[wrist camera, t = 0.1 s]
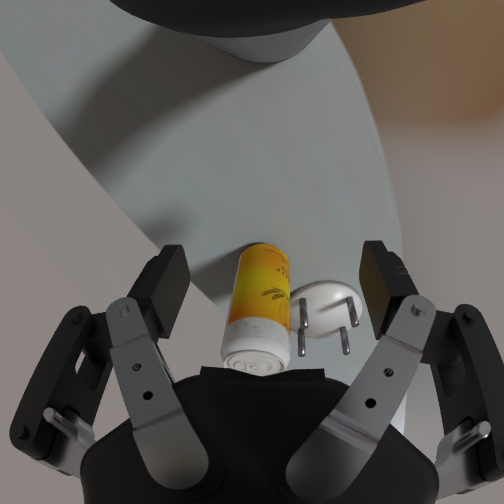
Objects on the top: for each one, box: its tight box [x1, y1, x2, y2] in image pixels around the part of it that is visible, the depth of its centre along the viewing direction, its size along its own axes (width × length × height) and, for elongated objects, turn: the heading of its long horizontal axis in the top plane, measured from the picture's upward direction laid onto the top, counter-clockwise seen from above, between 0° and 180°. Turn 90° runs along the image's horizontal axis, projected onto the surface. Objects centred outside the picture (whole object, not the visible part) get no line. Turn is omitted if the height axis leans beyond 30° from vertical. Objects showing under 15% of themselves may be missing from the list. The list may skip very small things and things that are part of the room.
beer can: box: [221, 244, 290, 376], centre depth 28 cm, size 6×6×15 cm
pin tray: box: [290, 281, 362, 357], centre depth 36 cm, size 11×11×6 cm
